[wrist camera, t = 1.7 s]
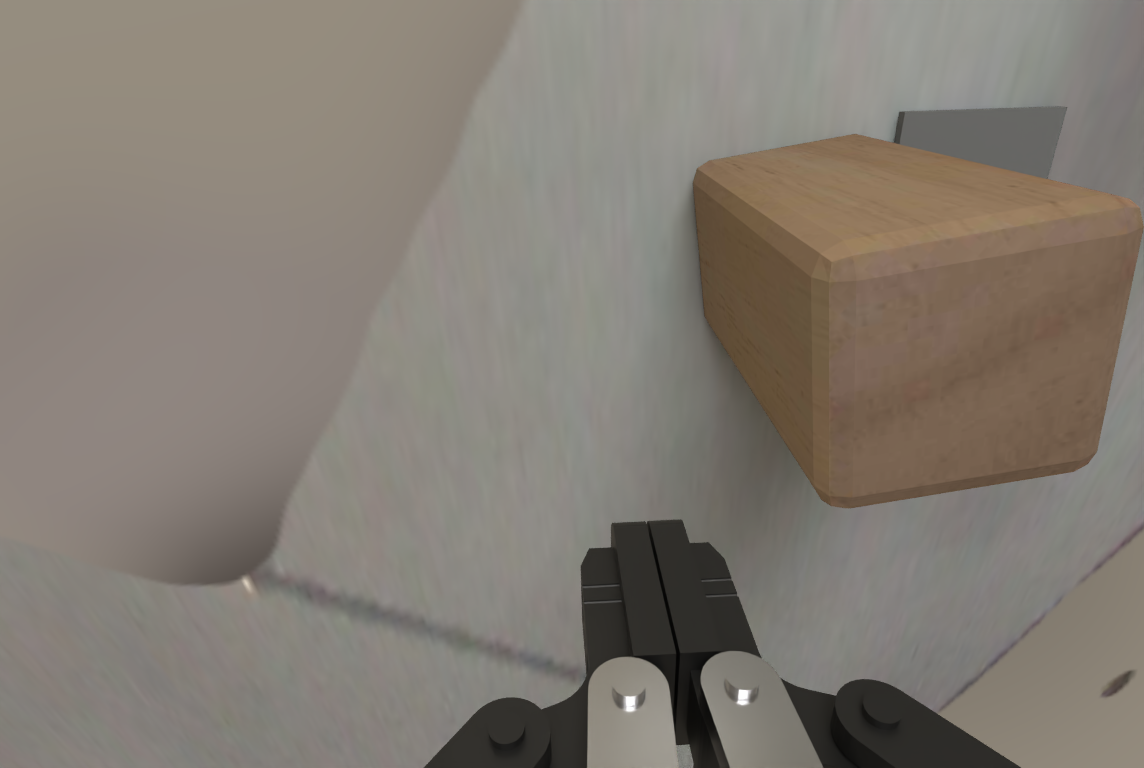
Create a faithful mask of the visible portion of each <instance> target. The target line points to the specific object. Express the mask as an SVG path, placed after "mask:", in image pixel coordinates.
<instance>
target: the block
mask: <svg viewBox="0 0 1144 768" xmlns="http://www.w3.org/2000/svg"><path fill="white" fill-rule="evenodd" d="M693 189H694V200H695V212H696V223H697V235H698V246H699V257H700V269H701V280H702V292H703V303H704V315H705V318H706V319H707V321H708V323H709V325H710V326H711V328H712V329H713V331H714V333H715V334H716V336H717V337H718V339H719V340H720V342H721V343H722V345H723V347H724V348H725V350H726V351H727V353H728V354H729V356H730V358H731V359H732V361H733V362H734V364H735V365H736V367H737V368H738V370H739V372H740V373H741V375H742V376H743V378H744V379H745V381H746V383H747V384H748V386H749V387H750V389H751V390H752V392H753V393H754V395H755V397H756V398H757V400H758V401H759V403H760V404H761V406H762V408H763V409H764V411H765V412H766V414H767V415H768V417H769V418H770V420H771V422H772V423H773V425H774V426H775V428H776V429H777V431H778V433H779V434H780V436H781V437H782V439H783V440H784V442H785V443H786V445H787V447H788V448H789V450H790V451H791V453H792V454H793V456H794V458H795V459H796V461H797V462H798V464H799V465H800V467H801V468H802V470H803V472H804V473H805V475H806V476H807V478H808V479H809V481H810V483H811V484H812V486H813V487H814V489H815V490H816V492H817V493H818V495H819V497H820V498H821V500H822V501H824V502H826V503H827V504H829V505H831V506H835V507H842V508H855V507H861V506H867V505H873V504H879V503H885V502H891V501H897V500H904V499H910V498H916V497H922V496H928V495H934V494H940V493H946V492H953V491H959V490H965V489H971V488H977V487H983V486H989V485H995V484H1001V483H1008V482H1014V481H1020V480H1026V479H1032V478H1038V477H1044V476H1050V475H1057V474H1063V473H1069V472H1074V471H1076V470H1078V469H1079V468H1081V467H1083V466H1085V465H1087V464H1088V463H1089V462H1090V460H1091V459H1092V458H1093V456H1094V455H1095V454H1096V452H1097V449H1098V444H1099V439H1100V434H1101V429H1102V425H1103V420H1104V415H1105V410H1106V405H1107V401H1108V396H1109V391H1110V386H1111V381H1112V377H1113V372H1114V367H1115V362H1116V357H1117V353H1118V348H1119V343H1120V338H1121V333H1122V329H1123V324H1124V319H1125V314H1126V309H1127V305H1128V300H1129V295H1130V290H1131V285H1132V281H1133V276H1134V271H1135V266H1136V261H1137V257H1138V252H1139V247H1140V242H1141V237H1142V233H1143V228H1144V226H1143V221H1142V217H1141V212H1140V208H1139V207H1138V206H1137V205H1136V204H1135V203H1134V202H1133V201H1131V200H1130V199H1128V198H1124V197H1120V196H1116V195H1112V194H1108V193H1104V192H1100V191H1096V190H1091V189H1087V188H1083V187H1079V186H1074V185H1070V184H1066V183H1062V182H1057V181H1053V180H1049V179H1045V178H1040V177H1036V176H1032V175H1028V174H1023V173H1019V172H1015V171H1011V170H1006V169H1002V168H998V167H994V166H989V165H985V164H981V163H977V162H972V161H968V160H964V159H959V158H955V157H951V156H947V155H942V154H938V153H934V152H930V151H925V150H921V149H917V148H913V147H908V146H904V145H900V144H896V143H891V142H887V141H883V140H879V139H874V138H870V137H866V136H862V135H857V134H852V135H847V136H841V137H836V138H831V139H825V140H820V141H814V142H809V143H803V144H798V145H792V146H787V147H781V148H776V149H770V150H765V151H760V152H754V153H749V154H743V155H738V156H732V157H727V158H721V159H716V160H710V161H708V162H706V163H705V164H703V165H702V166H700V167H699V168H697V170H696V174H695V177H694V181H693Z"/></svg>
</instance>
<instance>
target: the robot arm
mask: <svg viewBox="0 0 1144 768" xmlns="http://www.w3.org/2000/svg"><path fill="white" fill-rule="evenodd" d="M581 591H582V622H583V635H584V649H585V662H586V675H587V676H586V679H585V681H584V683H583V684H582V686H581V687H580V688H579V689H578V691H577V692H576V693H574V694H573V695H572V696H571V697H569V698H568V699H566V700H565V701H562V702H560V703H558V704H555V705H553V706H550V707H547V708H545V709H542V710H541V709H540V708H539V707H538V706H537V705H535V704H534V703H532V702H530V701H528V700H525V699H521V698H502V699H498V700H495V701H492V702H490V703H488V704H486V705H485V706H483V707H482V708H480V709H479V710H478V711H477V712H476V713H475V714H474V715H473V716H472V717H471V718H470V719H469V720H468V721H467V723H466V724H465V725H464V726H463V727H462V728H461V729H460V730H459V731H458V732H457V733H456V734H455V735H454V736H453V737H452V738H451V739H450V741H449V742H448V743H447V744H446V745H445V746H444V747H443V748H442V749H441V750H440V751H439V752H438V753H437V754H436V755H435V756H434V757H433V759H432V760H431V761H430V762H429V763H428V764H427V765H426V766H425V767H424V768H679V766H678V758H677V749H676V745H686V744H690V749H691V753H692V758H693V763H694V765H693V768H1021V767H1019V766H1018V765H1016V764H1015V763H1013V762H1011V761H1010V760H1008V759H1007V758H1005V757H1004V756H1002V755H1000V754H999V753H997V752H996V751H994V750H993V749H991V748H989V747H988V746H986V745H985V744H983V743H982V742H980V741H979V740H977V739H976V738H974V737H972V736H971V735H969V734H968V733H966V732H965V731H963V730H961V729H960V728H958V727H957V726H955V725H954V724H952V723H951V722H949V721H947V720H946V719H944V718H943V717H941V716H940V715H938V714H936V713H935V712H933V711H932V710H930V709H929V708H927V707H926V706H924V705H922V704H921V703H919V702H918V701H916V700H915V699H913V698H912V697H910V696H908V695H907V694H905V693H904V692H902V691H901V690H899V689H897V688H895V687H893V686H891V685H889V684H887V683H883V682H880V681H876V680H869V679H861V680H855V681H851V682H849V683H847V684H845V685H844V686H843V687H841V688H840V690H839V691H838V693H837V696H834V695H830V694H825V693H821V692H816V691H812V690H808V689H804V688H800V687H797V686H795V685H792V684H790V683H788V682H786V681H785V680H783V679H781V678H780V677H779V675H778V673H777V672H776V671H775V669H774V668H773V667H772V666H771V665H770V664H768V663H767V662H766V661H764V660H763V659H762V658H761V656H760V654H759V651H758V649H757V646H756V643H755V640H754V638H753V635H752V632H751V630H750V627H749V624H748V621H747V619H746V616H745V613H744V611H743V608H742V605H741V603H740V600H739V597H737V592H736V589H735V586H734V584H733V581H731V575H730V573H729V570H728V567H727V565H726V562H725V559H724V558H723V557H722V556H721V555H720V554H719V553H718V552H717V551H716V550H715V549H714V548H713V547H712V546H711V545H710V544H709V543H708V542H707V543H689V540H688V537H687V533H686V530H685V527H684V524H683V521H682V520H661V521H648V522H647V524H646V522H645V521H644V522H623V523H612V525H611V548H591V549H589V550H588V552H587V554H586V556H585V558H584V560H583V562H582V565H581Z"/></svg>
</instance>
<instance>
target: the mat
mask: <svg viewBox="0 0 1144 768" xmlns="http://www.w3.org/2000/svg"><path fill="white" fill-rule="evenodd" d="M1066 109H1067V107H1029V108H998V109H967V110H936V111H905V112H900V113H899V119H898V125H897V131H896V136H895V142H894V143H896V144H900V145H904V146H908V147H913V148H917V149H921V150H925V151H930V152H934V153H938V154H942V155H947V156H951V157H955V158H959V159H964V160H968V161H972V162H977V163H981V164H985V165H989V166H994V167H998V168H1002V169H1006V170H1011V171H1015V172H1019V173H1023V174H1028V175H1032V176H1036V177H1040V178H1045V179H1048V175H1049V171H1050V168H1051V164H1052V160H1053V157H1054V153H1055V149H1056V146H1057V142H1058V139H1059V135H1060V131H1061V128H1062V124H1063V120H1064V117H1065V113H1066Z"/></svg>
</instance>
